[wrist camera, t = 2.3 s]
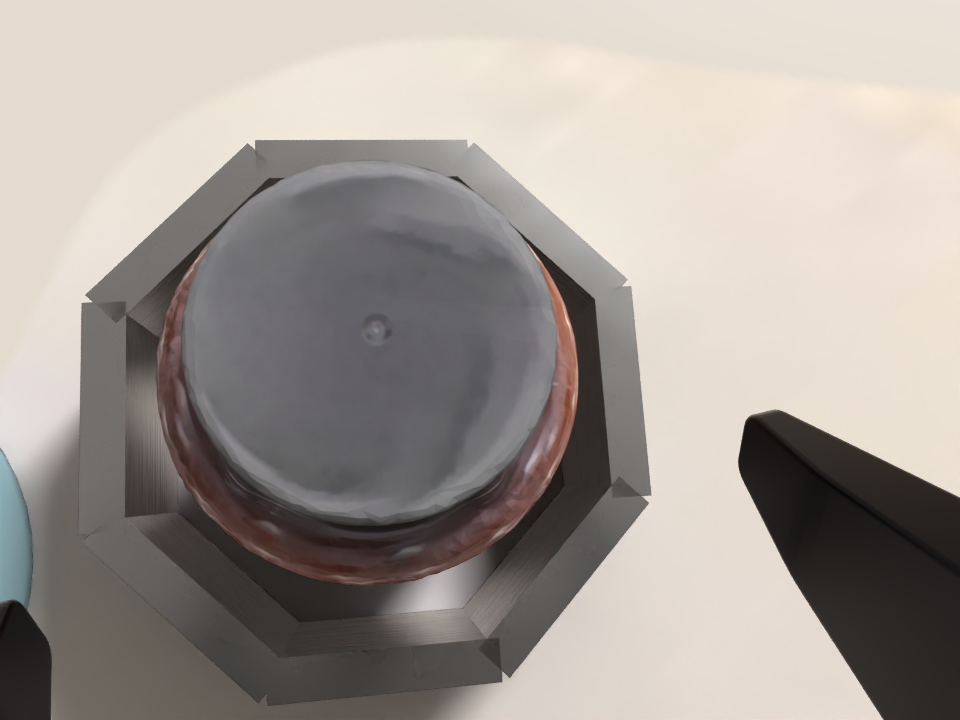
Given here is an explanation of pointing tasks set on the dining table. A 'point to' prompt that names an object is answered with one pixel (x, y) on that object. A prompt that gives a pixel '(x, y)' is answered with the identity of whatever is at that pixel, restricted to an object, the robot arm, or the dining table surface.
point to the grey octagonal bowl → (230, 591)
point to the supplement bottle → (367, 374)
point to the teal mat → (14, 538)
